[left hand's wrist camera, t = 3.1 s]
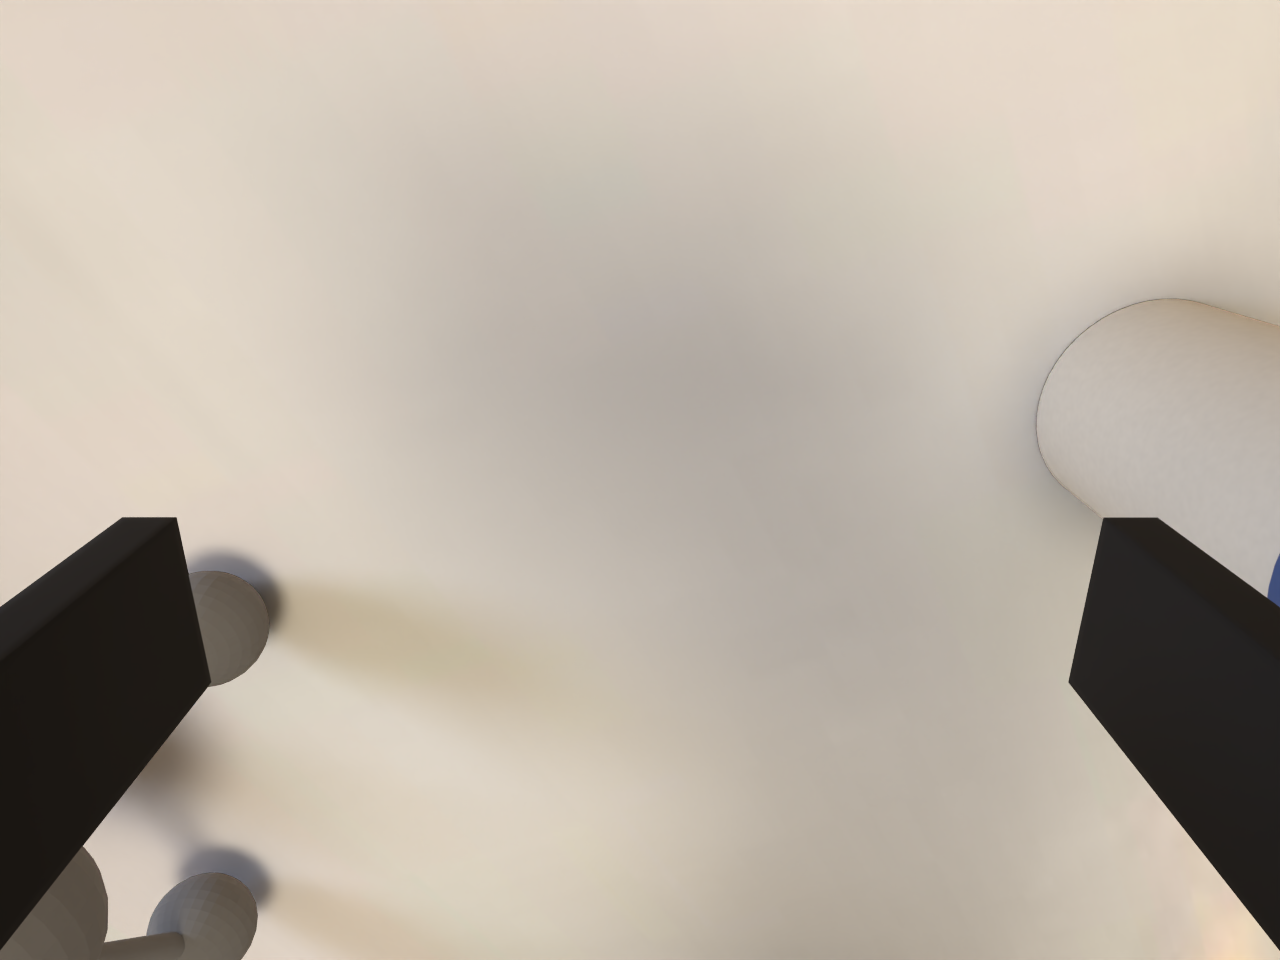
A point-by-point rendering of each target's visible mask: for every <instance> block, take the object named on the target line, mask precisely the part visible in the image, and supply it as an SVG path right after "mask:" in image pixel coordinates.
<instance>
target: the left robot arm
mask: <svg viewBox="0 0 1280 960" xmlns="http://www.w3.org/2000/svg"><path fill="white" fill-rule="evenodd" d="M210 683H211V677H210V673H209V668H208V663H207V659H206V654H205V649H204V644H203V640H202V635H201V630H200V626H199V621H198V616H197V612H196V607H195V602H194V597H193V593H192V588H191V583H190V579H189V574H188V569H187V565H186V560H185V555H184V550H183V546H182V541H181V536H180V532H179V527H178V522H177V518H176V517H122V518H121V519H120V520H118V521H117V522H115V523H114V524H113V525H111V526H110V527H109V528H107V529H106V530H105V531H103V532H102V533H100V534H99V535H98V536H96V537H95V538H94V539H92V540H91V541H90V542H88V543H87V544H86V545H84V546H83V547H81V548H80V549H79V550H77V551H76V552H75V553H73V554H72V555H71V556H69V557H68V558H66V559H65V560H64V561H62V562H61V563H60V564H58V565H57V566H56V567H54V568H53V569H51V570H50V571H49V572H47V573H46V574H45V575H43V576H42V577H41V578H39V579H38V580H36V581H35V582H34V583H32V584H31V585H30V586H28V587H27V588H26V589H24V590H23V591H21V592H20V593H19V594H17V595H16V596H15V597H13V598H12V599H11V600H9V601H8V602H6V603H5V604H4V605H2V606H1V607H0V950H1V949H2V948H3V946H4V945H5V944H6V943H7V941H8V940H9V939H10V938H11V936H12V935H13V934H14V933H15V931H16V930H17V929H18V927H19V926H20V925H21V924H22V922H23V921H24V920H25V919H26V917H27V916H28V915H29V913H30V912H31V911H32V910H33V908H34V907H35V906H36V905H37V903H38V902H39V901H40V899H41V898H42V897H43V896H44V894H45V893H46V892H47V891H48V889H49V888H50V887H51V885H52V884H53V883H54V882H55V880H56V879H57V878H58V877H59V875H60V874H61V873H62V872H63V870H64V869H65V868H66V866H67V865H68V864H69V863H70V861H71V860H72V859H73V858H74V856H75V855H76V854H77V852H78V851H79V850H80V849H81V847H82V846H83V845H84V844H85V842H86V841H87V840H88V838H89V837H90V836H91V835H92V833H93V832H94V831H95V830H96V828H97V827H98V826H99V824H100V823H101V822H102V821H103V819H104V818H105V817H106V816H107V814H108V813H109V812H110V811H111V809H112V808H113V807H114V805H115V804H116V803H117V802H118V800H119V799H120V798H121V797H122V795H123V794H124V793H125V791H126V790H127V789H128V788H129V786H130V785H131V784H132V783H133V781H134V780H135V779H136V777H137V776H138V775H139V774H140V772H141V771H142V770H143V769H144V767H145V766H146V765H147V764H148V762H149V761H150V760H151V758H152V757H153V756H154V755H155V753H156V752H157V751H158V750H159V748H160V747H161V746H162V744H163V743H164V742H165V741H166V739H167V738H168V737H169V736H170V734H171V733H172V732H173V730H174V729H175V728H176V727H177V725H178V724H179V723H180V722H181V720H182V719H183V718H184V716H185V715H186V714H187V713H188V711H189V710H190V709H191V708H192V706H193V705H194V704H195V703H196V701H197V700H198V699H199V697H200V696H201V695H202V694H203V692H204V691H205V690H206V689H207V687H208V686H209V685H210ZM1069 683H1070V685H1071V686H1072V687H1073V689H1074V690H1075V691H1076V692H1077V694H1078V695H1079V696H1080V697H1081V699H1082V700H1083V701H1084V703H1085V704H1086V705H1087V706H1088V708H1089V709H1090V710H1091V711H1092V713H1093V714H1094V715H1095V716H1096V718H1097V719H1098V720H1099V722H1100V723H1101V724H1102V725H1103V727H1104V728H1105V729H1106V730H1107V732H1108V733H1109V734H1110V736H1111V737H1112V738H1113V739H1114V741H1115V742H1116V743H1117V744H1118V746H1119V747H1120V748H1121V750H1122V751H1123V752H1124V753H1125V755H1126V756H1127V757H1128V758H1129V760H1130V761H1131V762H1132V764H1133V765H1134V766H1135V767H1136V769H1137V770H1138V771H1139V772H1140V774H1141V775H1142V776H1143V777H1144V779H1145V780H1146V781H1147V783H1148V784H1149V785H1150V786H1151V788H1152V789H1153V790H1154V791H1155V793H1156V794H1157V795H1158V797H1159V798H1160V799H1161V800H1162V802H1163V803H1164V804H1165V805H1166V807H1167V808H1168V809H1169V811H1170V812H1171V813H1172V814H1173V816H1174V817H1175V818H1176V819H1177V821H1178V822H1179V823H1180V824H1181V826H1182V827H1183V828H1184V830H1185V831H1186V832H1187V833H1188V835H1189V836H1190V837H1191V838H1192V840H1193V841H1194V842H1195V844H1196V845H1197V846H1198V847H1199V849H1200V850H1201V851H1202V852H1203V854H1204V855H1205V856H1206V858H1207V859H1208V860H1209V861H1210V863H1211V864H1212V865H1213V866H1214V868H1215V869H1216V870H1217V872H1218V873H1219V874H1220V875H1221V877H1222V878H1223V879H1224V880H1225V882H1226V883H1227V884H1228V885H1229V887H1230V888H1231V889H1232V891H1233V892H1234V893H1235V894H1236V896H1237V897H1238V898H1239V899H1240V901H1241V902H1242V903H1243V905H1244V906H1245V907H1246V908H1247V910H1248V911H1249V912H1250V913H1251V915H1252V916H1253V917H1254V919H1255V920H1256V921H1257V922H1258V924H1259V925H1260V926H1261V927H1262V929H1263V930H1264V931H1265V933H1266V934H1267V935H1268V936H1269V938H1270V939H1271V940H1272V941H1273V943H1274V944H1275V945H1276V946H1277V948H1278V949H1279V950H1280V607H1279V606H1278V605H1276V604H1275V603H1274V602H1272V601H1271V600H1269V599H1268V598H1267V597H1265V596H1264V595H1263V594H1261V593H1260V592H1259V591H1257V590H1256V589H1254V588H1253V587H1252V586H1250V585H1249V584H1248V583H1246V582H1245V581H1244V580H1242V579H1241V578H1239V577H1238V576H1237V575H1235V574H1234V573H1233V572H1231V571H1230V570H1229V569H1227V568H1226V567H1224V566H1223V565H1222V564H1220V563H1219V562H1218V561H1216V560H1215V559H1214V558H1212V557H1211V556H1209V555H1208V554H1207V553H1205V552H1204V551H1203V550H1201V549H1200V548H1199V547H1197V546H1196V545H1194V544H1193V543H1192V542H1190V541H1189V540H1188V539H1186V538H1185V537H1184V536H1182V535H1181V534H1179V533H1178V532H1177V531H1175V530H1174V529H1173V528H1171V527H1170V526H1169V525H1167V524H1166V523H1165V522H1163V521H1162V520H1160V519H1159V518H1158V517H1104V518H1103V522H1102V527H1101V532H1100V536H1099V541H1098V546H1097V550H1096V555H1095V560H1094V565H1093V569H1092V574H1091V579H1090V583H1089V588H1088V593H1087V597H1086V602H1085V607H1084V612H1083V616H1082V621H1081V626H1080V630H1079V635H1078V640H1077V644H1076V649H1075V654H1074V659H1073V663H1072V668H1071V673H1070V677H1069Z"/></svg>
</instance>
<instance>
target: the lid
mask: <svg viewBox="0 0 1280 960" xmlns="http://www.w3.org/2000/svg"><path fill="white" fill-rule="evenodd" d="M1267 598H1268V599H1269V600H1271V601H1272V602H1274V603H1275V604H1276V605H1278V606H1279V607H1280V554H1279V556H1278V558H1277V561H1276V563H1275V566H1274V569H1273V573H1272V576H1271V580H1270V583H1269V587H1268V595H1267Z"/></svg>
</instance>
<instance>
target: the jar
mask: <svg viewBox="0 0 1280 960" xmlns="http://www.w3.org/2000/svg"><path fill="white" fill-rule="evenodd" d="M1036 430H1037V438H1038V444H1039V448H1040V451H1041V455H1042V457H1043V459H1044V461H1045V464H1046V466H1047V467H1048V469H1049V470H1050V472H1051V473H1052V475H1053V476H1054V477H1055V479H1056V480H1057V481H1058V482H1059V483H1060V484H1061V485H1062V486H1063V487H1065V488H1066V489H1067V490H1068V491H1069V492H1071V493H1072V494H1073V495H1074V496H1075V497H1077V498H1078V499H1079V500H1080V501H1082V502H1083V503H1084V504H1085V505H1086V506H1088V507H1089V508H1090V509H1091V510H1092V511H1094V512H1095V513H1096V514H1097V515H1099V516H1100V517H1101V518H1102V519H1103V518H1104V517H1158V518H1159V519H1160V520H1162V521H1163V522H1165V523H1166V524H1167V525H1169V526H1170V527H1171V528H1173V529H1174V530H1175V531H1177V532H1178V533H1179V534H1181V535H1182V536H1184V537H1185V538H1186V539H1188V540H1189V541H1190V542H1192V543H1193V544H1194V545H1196V546H1197V547H1199V548H1200V549H1201V550H1203V551H1204V552H1205V553H1207V554H1208V555H1209V556H1211V557H1212V558H1214V559H1215V560H1216V561H1218V562H1219V563H1220V564H1222V565H1223V566H1224V567H1226V568H1227V569H1229V570H1230V571H1231V572H1233V573H1234V574H1235V575H1237V576H1238V577H1239V578H1241V579H1242V580H1244V581H1245V582H1246V583H1248V584H1249V585H1250V586H1252V587H1253V588H1254V589H1256V590H1257V591H1259V592H1260V593H1261V594H1263V595H1264V596H1265V597H1267V595H1268V587H1269V583H1270V580H1271V576H1272V573H1273V569H1274V566H1275V563H1276V561H1277V558H1278V556H1279V554H1280V326H1277V325H1273V324H1270V323H1266V322H1263V321H1260V320H1256V319H1253V318H1249V317H1246V316H1243V315H1239V314H1236V313H1232V312H1229V311H1226V310H1222V309H1219V308H1216V307H1212V306H1209V305H1205V304H1202V303H1198V302H1194V301H1190V300H1182V299H1159V300H1151V301H1145V302H1142V303H1138V304H1134V305H1131V306H1128V307H1126V308H1123V309H1121V310H1118V311H1116V312H1114V313H1112V314H1110V315H1108V316H1106V317H1105V318H1103V319H1101V320H1100V321H1098V322H1097V323H1095V324H1094V325H1092V326H1091V327H1089V328H1088V329H1087V330H1086V331H1085V332H1083V333H1082V334H1081V335H1080V336H1079V337H1078V338H1076V340H1075V341H1074V342H1073V343H1072V344H1071V345H1070V346H1069V347H1068V348H1067V349H1066V350H1065V352H1064V353H1063V354H1062V356H1061V357H1060V358H1059V360H1058V361H1057V362H1056V364H1055V366H1054V367H1053V369H1052V371H1051V373H1050V374H1049V376H1048V378H1047V381H1046V383H1045V385H1044V388H1043V390H1042V394H1041V397H1040V401H1039V405H1038V411H1037V427H1036Z"/></svg>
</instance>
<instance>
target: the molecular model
mask: <svg viewBox="0 0 1280 960" xmlns="http://www.w3.org/2000/svg"><path fill="white" fill-rule="evenodd" d="M189 579H190V583H191V588H192V593H193V597H194V602H195V607H196V612H197V616H198V621H199V626H200V630H201V635H202V640H203V644H204V649H205V654H206V659H207V663H208V668H209V673H210V677H211V683H210V685H209V686H208V687H211V686H216V685H221V684H224V683H226V682H229V681H231V680H233V679H235V678H237V677H238V676H240V675H241V674H243V673H245V672H246V671H247V670H248V669H249V668H250V667H251V666H252V665H253V664H254V663H255V662H256V661H257V659H258V658H259V656H260V654H261V653H262V651H263V649H264V647H265V645H266V642H267V638H268V633H269V617H268V612H267V608H266V606H265V603H264V601H263V599H262V598H261V596H260V595H259V593H258V592H257V591H256V590H255V589H254V588H253V587H252V586H251V585H250V584H248V583H247V582H246V581H244V580H242V579H241V578H239V577H237V576H234V575H232V574H229V573H224V572H219V571H201V572H195V573H191V574H189ZM257 917H258V915H257V908H256V903H255V900H254V898H253V896H252V894H251V892H250V891H249V889H248V888H247V887H246V886H245V885H244V884H243V883H242V882H241V881H239V880H238V879H236V878H234V877H232V876H229V875H226V874H221V873H205V874H200V875H196V876H193V877H190V878H188V879H187V880H185V881H183V882H181V883H179V884H177V885H176V886H175V887H174V888H173V889H171V890H170V891H169V892H168V893H167V894H166V895H165V896H164V897H163V898H162V900H161V901H160V902H159V904H158V905H157V907H156V908H155V910H154V912H153V914H152V916H151V918H150V922H149V925H148V929H147V936H142V937H136V938H130V939H124V940H117V941H111V942H105V943H104V941H105V937H106V933H107V929H108V897H107V893H106V890H105V886H104V883H103V879H102V876H101V873H100V870H99V868H98V866H97V865H96V863H95V861H94V859H93V858H92V857H91V855H90V854H89V853H88V852H87V851H86V849H85V848H84V847H83V846H82V847H81V849H80V850H79V851H78V852H77V854H76V855H75V856H74V858H73V859H72V860H71V861H70V863H69V864H68V865H67V866H66V868H65V869H64V870H63V872H62V873H61V874H60V875H59V877H58V878H57V879H56V880H55V882H54V883H53V884H52V885H51V887H50V888H49V889H48V891H47V892H46V893H45V894H44V896H43V897H42V898H41V899H40V901H39V902H38V903H37V905H36V906H35V907H34V908H33V910H32V911H31V912H30V913H29V915H28V916H27V917H26V919H25V920H24V921H23V922H22V924H21V925H20V926H19V927H18V929H17V930H16V931H15V933H14V934H13V935H12V936H11V938H10V939H9V940H8V941H7V943H6V944H5V945H4V946H3V948H2V949H1V950H0V960H241V959H242V958H243V956H244V955H245V953H246V952H247V950H248V949H249V947H250V945H251V943H252V940H253V937H254V935H255V932H256V927H257Z"/></svg>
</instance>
